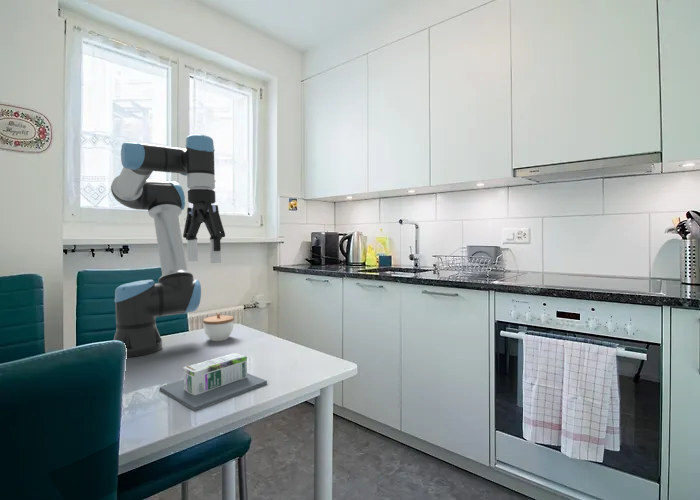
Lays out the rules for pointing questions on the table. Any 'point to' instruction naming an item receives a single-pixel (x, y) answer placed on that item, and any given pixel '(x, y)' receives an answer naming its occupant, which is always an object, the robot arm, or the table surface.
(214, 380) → the syrup box
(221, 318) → the lidded jar
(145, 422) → the table surface
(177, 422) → the table surface
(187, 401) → the mat
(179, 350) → the table surface
